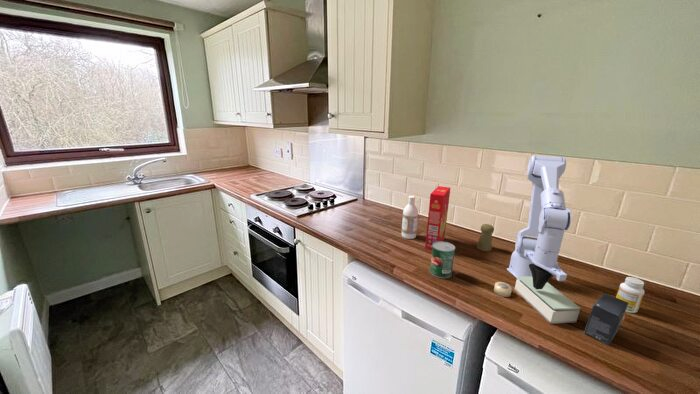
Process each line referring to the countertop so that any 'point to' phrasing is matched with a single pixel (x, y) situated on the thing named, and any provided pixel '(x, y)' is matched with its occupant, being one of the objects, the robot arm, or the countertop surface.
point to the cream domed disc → (502, 289)
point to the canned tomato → (442, 259)
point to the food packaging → (437, 216)
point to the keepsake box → (545, 306)
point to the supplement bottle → (631, 293)
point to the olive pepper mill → (485, 238)
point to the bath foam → (410, 219)
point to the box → (605, 318)
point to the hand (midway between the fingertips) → (537, 287)
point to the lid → (550, 295)
